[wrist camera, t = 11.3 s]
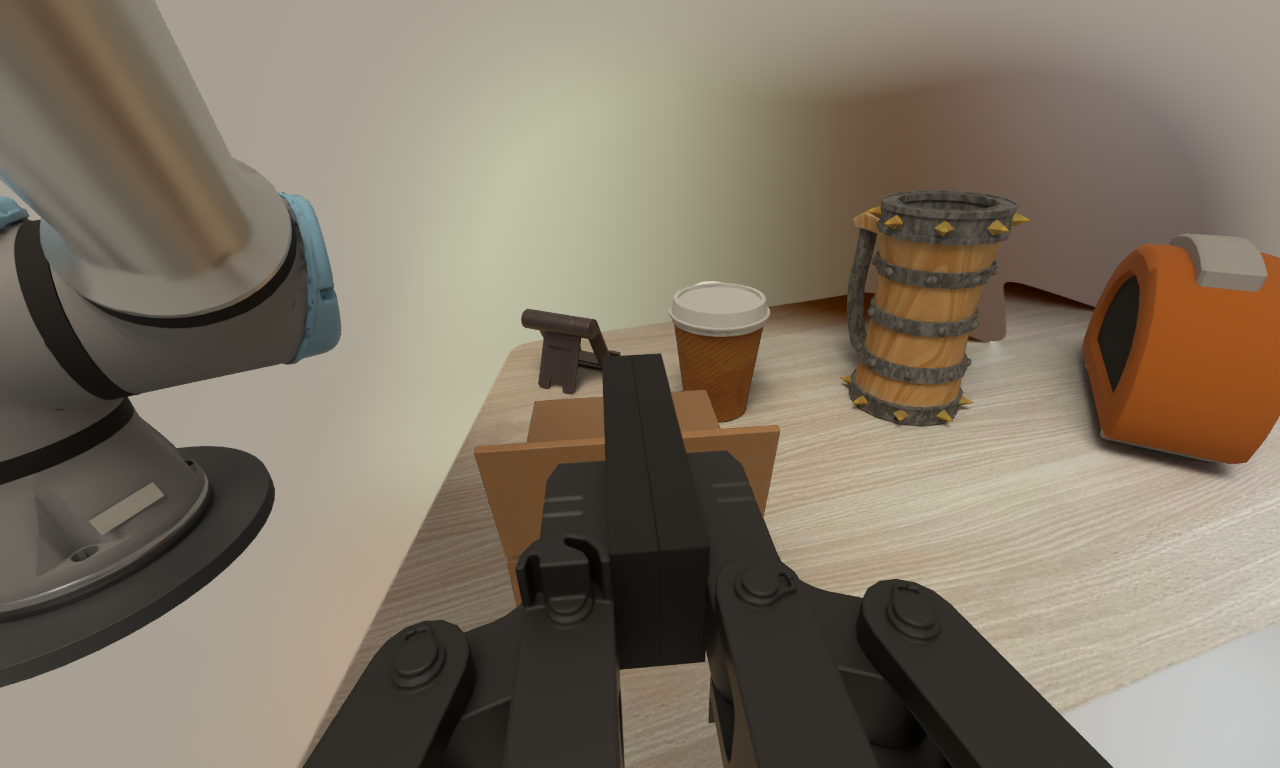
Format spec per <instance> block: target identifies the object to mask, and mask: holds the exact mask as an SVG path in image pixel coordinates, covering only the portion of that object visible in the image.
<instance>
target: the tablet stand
mask: <svg viewBox="0 0 1280 768" xmlns="http://www.w3.org/2000/svg"><path fill="white" fill-rule="evenodd" d="M521 321H522V325H523V326H524V327H525V328H530V329H535V330H540V332H541V334H542V336H543V338H544V341H543V349H542V358H541V366H540V375H539V382H538V384H539V386H540V387H543V388H547V389H549V386H550V382H551V379H552V378H554V379H559V380H562V382H563V392H564V393H569V394H572V393H573V392H574V389H575V382H576V374H577V366H578V364H580V365H585V366H590V367H595V368H600V369H602V357H612V356H621V355H620V352H616V351H610V350H608V349H607V346H606V344H605V341H604V339H603V336H602V333H601V331H600V328H599V326H598V323H597V321H596V320H595V319H589V318H582V317H575V316H569V315H563V314H557V313H551V312H544V311H539V310H532V309H526V310H525V311H524V312H523V314H522V319H521ZM581 338H586V339H589V342H590V344H591V347H592V349H593V351H594V353H592V352H586V351H582V350H581V347H580V343H581Z"/></svg>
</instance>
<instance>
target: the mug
mask: <svg viewBox="0 0 1280 768" xmlns="http://www.w3.org/2000/svg"><path fill="white" fill-rule="evenodd" d="M880 204H881V206H878V207H876V208H873V209H871V210H868V211H867V212H865V213H862V214H860V215H859V216H857V217H855V218H854V219H853V221H854V223H855V226H856V227H858V228H860V233H859V240H858V245H857V249H856V253H855V257H854V261H853V265H852V269H851V273H850V279H849V284H848V301H847V314H848V329H849V335H850V341H851V343H852V345H853V347H854V348H855V350H856V351H857V352H858V355H859V363H858V366H857V368H856V369H855V371H854V372H853V373H852V374H851V376H847V377H842V378H841V379H843V380H844V381H846V382H847V383H848V384H850V385H851V386H850V387H849V394H850V399H851V400H852V401H853V403H854V404H856V405H857V406H858V407H859V408H860V409H861V410H863V411H865V412H867V413H869V414H871V415H873V416H875V417H877V418H880V419H883V420H887V421H890V422H894V423H897V424H904V425H915V426H928V425H937V424H942V423H945V422H947V421H953V420H952V419H953V418H954V417H955V415H956V413H957V411H958V408H959V405H965V404H970V403H973V402H971V401H970V400H968V399H967V398H965V397H963V396H962V394H963V391H962V389H961V387H960V384H961V377H963V375H964V373H965V371H966V369H967V367H968V366H970V365H971V360H970V359H969V358H967V355H966V354H965V350H966V345H967V341H968V336H969V332H970V331H972V329H976V328H977V327H978V326H979V323H978V321H977V320H976V319H977V315H978V311H977V309H976V306H977V303H978V300H979V297H980V294H981V291H982V288H983V286H984V284H986V282H987V280H988V279H989V277H990V275H995V274H996V273H997V272H998V268H997V266H996V264H997V263H996V262H995V261H994V258H995V256H996V253H997V251H998V248H999V246H1000V244H1001V241H1003V240H1007V238H1008V237H1009V235H1010V232H1011V228H1010V227H1012V226H1015V225H1018V224H1021V223H1024V222H1027V221H1030V220H1029V219H1027V218H1025V217H1023V216H1021V215H1019V214H1018V213H1016V211H1017V208H1018V205H1019V203H1017V202H1015V201H1013V200H1011V199H1009V198H1004V197H1000V196H995V195H989V194H981V193H973V192H957V191H911V192H899V193H894V194H888V195H886V196H884V197H883V198H881V203H880ZM877 234H878V235H880V250H879V251H878V252H877V253H876V256H875V257H873V258H872V255H873V251H874V246H875V242H876V236H877ZM871 258H872V264H873V265H876V269H877V271H878V277H877V285H876V292H875V297H873V298H872V299H871V303H870V309H869V310H868V312H867V313H868V315H869V316H870V317H871V320H870V324H869V328H868V332H867V334H866V329H865V319H864V288H865V283H866V277H867V273H868V268H869V265H870V262H871Z"/></svg>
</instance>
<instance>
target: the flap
mask: <svg viewBox="0 0 1280 768" xmlns="http://www.w3.org/2000/svg"><path fill="white" fill-rule="evenodd" d="M681 434H682V438H683V442H684V446H685V450H686V453H695V452H709V451H723V450H727V451H728V452H729V453H730V454H731V455H732V456H733V457H734V458H735V459H737V460H738V461H739V462H740V463H741V464H742V466H743V468H744V471H745V473H746V476H747V478H748V481H749V486H751V488H752V491H753V493H754V496H755V500H756V501H757V504H758V506H759V509H760V511H761V514H762V516H763V517H764V512H765V507H766V502H767V496H768V491H769V486H770V481H771V476H772V471H773V466H774V460H775V455H776V450H777V445H778V440H779V435H780V429H779V427H778V425H771V426H757V427H743V428H729V429H715V430H701V431H687V432H681ZM474 454H475V457H476V461H477V464H478V467H479V471H480V474H481V477H482V480H483V484H484V487H485V490H486V493H487V497H488V500H489V503H490V507H491V510H492V513H493V516H494V520H495V523H496V526H497V530H498V533H499V536H500V539H501V543H502V546H503V549H504V553H505V556H513V555H521V554H522V553H523V552H524V551H525V550H526V549H527V548H528V547H529V545H530V544H531V543H532V542H534V541H536V540H538V539H540V532H541V524H542V518H543V507H544V503H545V491H546V482H547V479H548V478H549V477H550V475H551V474H552V472H553V471H554V470H555V468H556V467H557V465H558V464H562V463H577V462H591V461H605V437H603V438H589V439H575V440H561V441H547V442H533V443H519V444H505V445H491V446H476V447H475V451H474Z"/></svg>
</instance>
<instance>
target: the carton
mask: <svg viewBox="0 0 1280 768" xmlns="http://www.w3.org/2000/svg"><path fill="white" fill-rule="evenodd" d="M671 395H672V399H673V403H674V407H675V411H676V415H677V418H678V422H679V426H680V430H681V432H687V431H701V430H715V429H720V426H719V423H718V421H717V418H716V415H715V413H714V410H713V407H712V405H711V402H710V399H709V397H708V394H707V391H706V390H694V391H679V392H671ZM603 437H604V405H603V397H590V398H575V399H561V400H546V401H535V402H534V407H533V413H532V418H531V423H530V428H529V433H528V438H527V443H533V442H547V441H561V440H575V439H589V438H603ZM519 558H520V555H513V556H508V561H507V564H508V568H509V573H510V578H511V582H512V587H513V592H514V596H515V601H516V606H517V607H518V606H519V605H520V604H521V603H522V600H521V595H520V590H519V585H518V580H517V575H516V571H515V567H516V565H517V563H518V560H519ZM705 650H706V648H705Z"/></svg>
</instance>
